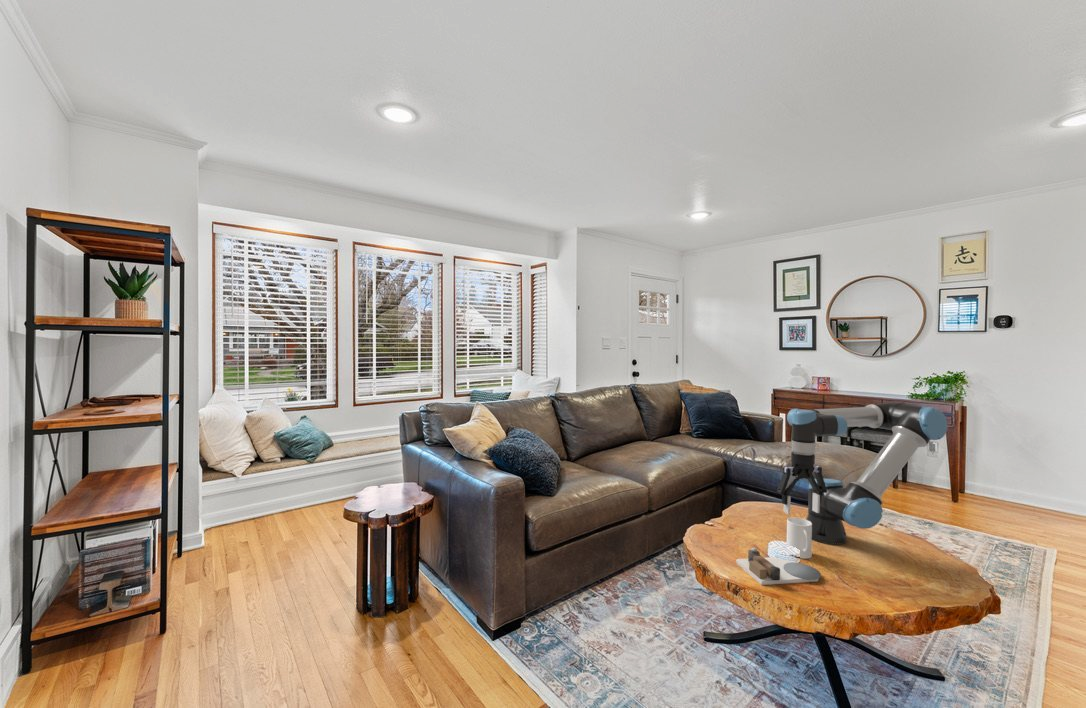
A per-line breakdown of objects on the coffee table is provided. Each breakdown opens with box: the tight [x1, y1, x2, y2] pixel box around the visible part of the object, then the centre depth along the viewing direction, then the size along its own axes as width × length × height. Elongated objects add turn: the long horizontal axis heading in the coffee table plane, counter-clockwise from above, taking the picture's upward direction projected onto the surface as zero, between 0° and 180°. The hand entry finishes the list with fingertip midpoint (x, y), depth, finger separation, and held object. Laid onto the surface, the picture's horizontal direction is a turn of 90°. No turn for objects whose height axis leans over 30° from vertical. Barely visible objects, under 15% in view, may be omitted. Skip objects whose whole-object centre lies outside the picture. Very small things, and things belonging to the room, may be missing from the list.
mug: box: [786, 517, 813, 560], centre depth 170 cm, size 12×8×12 cm
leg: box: [747, 549, 780, 580], centre depth 156 cm, size 14×4×3 cm, turn 9°
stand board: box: [735, 547, 822, 586], centre depth 157 cm, size 23×16×6 cm
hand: (801, 512), depth 169 cm, fingers open, 11 cm apart
